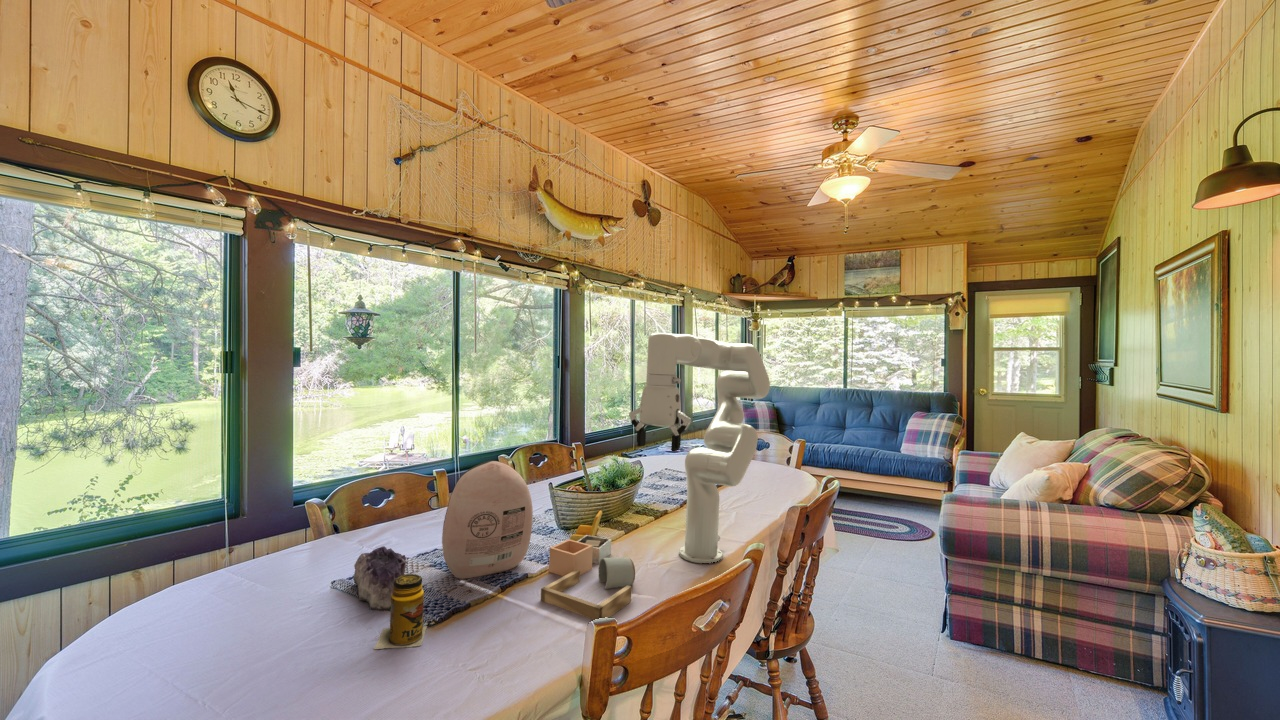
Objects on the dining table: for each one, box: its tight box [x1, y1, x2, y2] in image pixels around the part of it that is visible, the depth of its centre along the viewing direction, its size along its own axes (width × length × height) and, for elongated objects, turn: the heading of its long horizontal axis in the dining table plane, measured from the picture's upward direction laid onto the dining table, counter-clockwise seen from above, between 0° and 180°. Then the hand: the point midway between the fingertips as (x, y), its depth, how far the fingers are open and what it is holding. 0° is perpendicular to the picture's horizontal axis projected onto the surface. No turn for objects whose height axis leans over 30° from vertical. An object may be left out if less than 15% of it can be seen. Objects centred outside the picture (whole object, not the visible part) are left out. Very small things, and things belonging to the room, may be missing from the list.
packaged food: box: [441, 460, 534, 580], centre depth 137 cm, size 22×20×30 cm
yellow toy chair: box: [569, 510, 603, 541], centre depth 164 cm, size 10×10×9 cm
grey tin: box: [577, 535, 612, 565], centre depth 150 cm, size 8×8×5 cm
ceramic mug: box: [598, 556, 636, 590], centre depth 135 cm, size 10×8×7 cm
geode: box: [352, 546, 407, 612], centre depth 125 cm, size 20×12×10 cm, turn 34°
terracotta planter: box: [548, 538, 593, 577], centre depth 140 cm, size 8×8×7 cm
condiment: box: [373, 573, 428, 650], centre depth 106 cm, size 7×8×12 cm
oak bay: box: [540, 570, 633, 620], centre depth 124 cm, size 13×16×4 cm
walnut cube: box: [585, 540, 601, 548], centre depth 150 cm, size 4×4×4 cm
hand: (657, 448), depth 136 cm, fingers open, 9 cm apart
